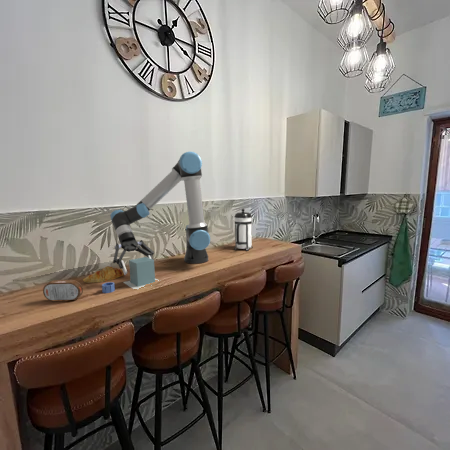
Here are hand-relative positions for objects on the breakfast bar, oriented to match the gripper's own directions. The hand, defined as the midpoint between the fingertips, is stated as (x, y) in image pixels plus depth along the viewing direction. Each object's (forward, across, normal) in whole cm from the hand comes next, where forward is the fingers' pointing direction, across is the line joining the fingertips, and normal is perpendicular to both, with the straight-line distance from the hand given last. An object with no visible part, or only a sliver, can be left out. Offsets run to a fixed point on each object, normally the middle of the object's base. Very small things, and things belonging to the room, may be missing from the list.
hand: (140, 270), depth 126 cm
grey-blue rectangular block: (+5, -1, -4) cm, 6 cm away
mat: (+5, -1, -4) cm, 6 cm away
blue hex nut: (+5, +15, -4) cm, 16 cm away
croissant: (-8, +10, -18) cm, 22 cm away
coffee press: (-5, -86, -14) cm, 87 cm away
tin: (+2, +32, -7) cm, 33 cm away
